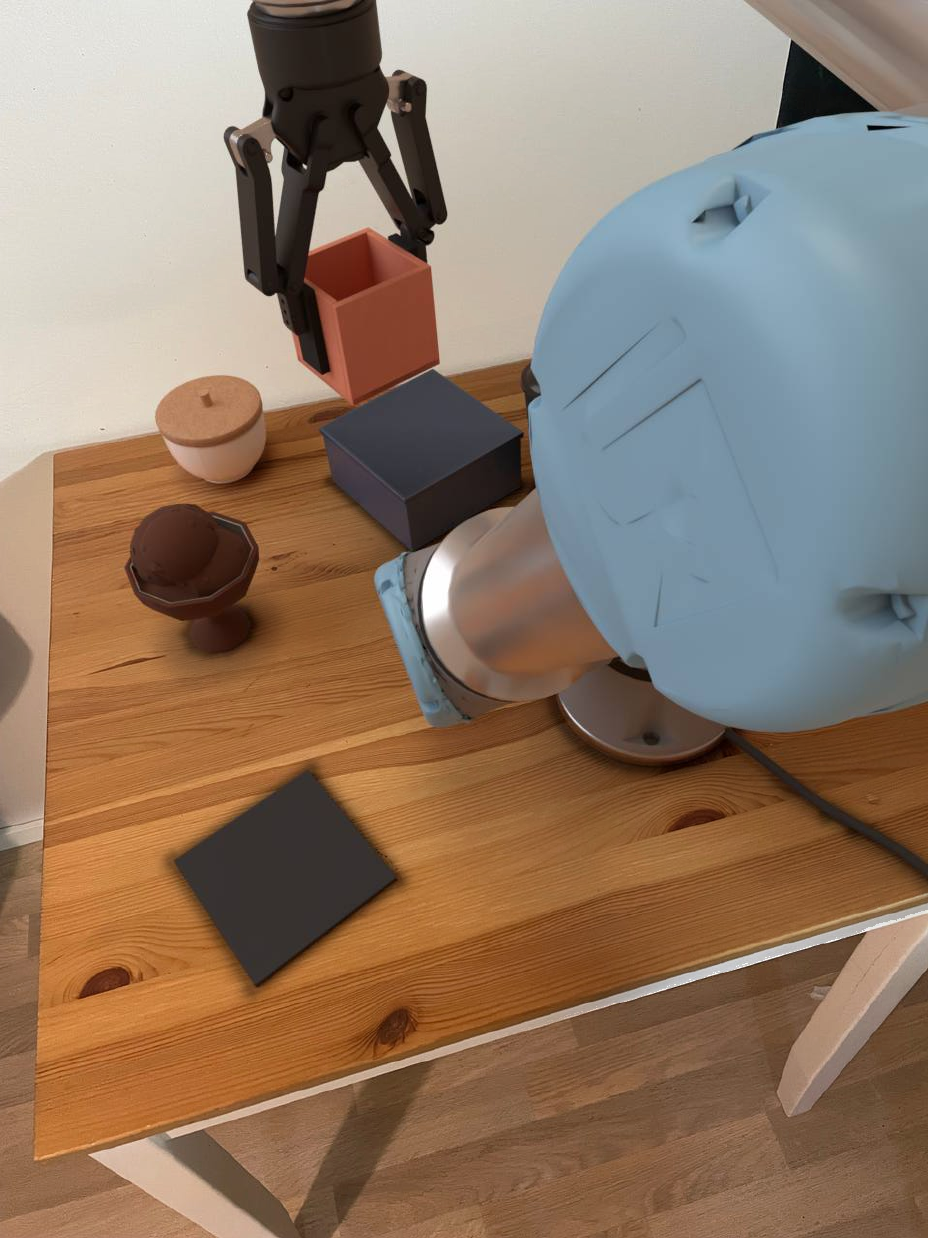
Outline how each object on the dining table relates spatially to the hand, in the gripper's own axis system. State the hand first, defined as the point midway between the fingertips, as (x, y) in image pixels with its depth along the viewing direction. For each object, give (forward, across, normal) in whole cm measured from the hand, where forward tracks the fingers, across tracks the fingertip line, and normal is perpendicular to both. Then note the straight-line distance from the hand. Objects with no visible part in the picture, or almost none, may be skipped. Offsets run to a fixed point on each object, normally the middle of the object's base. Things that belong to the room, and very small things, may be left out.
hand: (365, 342), depth 70 cm
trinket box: (+24, +6, -24) cm, 35 cm away
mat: (+24, +25, +20) cm, 40 cm away
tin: (+24, -9, -8) cm, 27 cm away
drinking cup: (+24, -18, +2) cm, 30 cm away
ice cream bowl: (+24, +17, -4) cm, 30 cm away
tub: (+2, 0, 0) cm, 2 cm away
